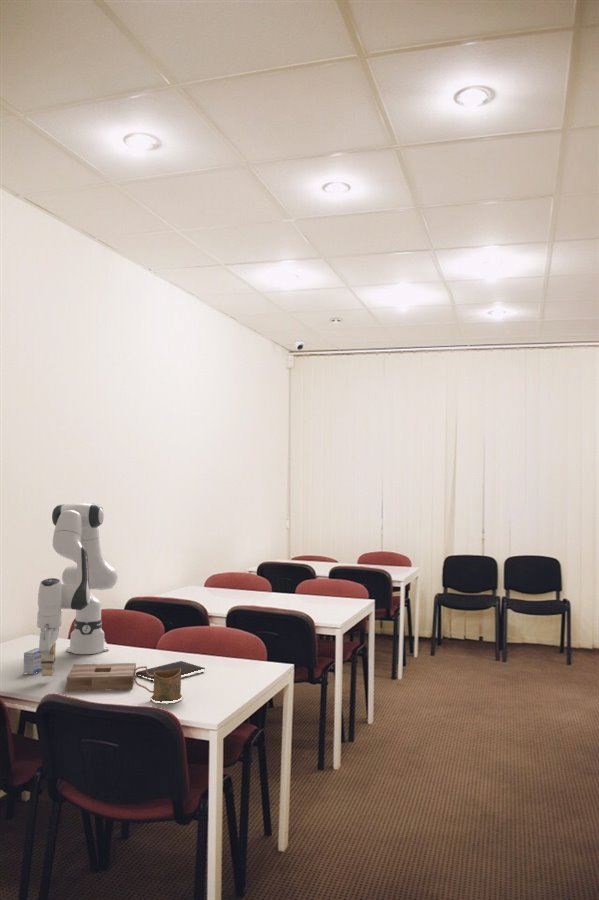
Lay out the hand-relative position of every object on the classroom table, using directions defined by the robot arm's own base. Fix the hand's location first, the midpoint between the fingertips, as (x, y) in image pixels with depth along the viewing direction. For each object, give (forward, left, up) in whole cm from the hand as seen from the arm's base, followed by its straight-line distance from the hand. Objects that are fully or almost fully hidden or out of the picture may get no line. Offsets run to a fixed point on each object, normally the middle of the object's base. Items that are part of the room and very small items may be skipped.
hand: (48, 657), depth 268 cm
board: (+2, +21, -10) cm, 23 cm away
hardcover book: (-7, +47, -10) cm, 49 cm away
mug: (+24, +43, -10) cm, 50 cm away
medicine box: (-16, -8, -10) cm, 20 cm away
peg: (0, 0, -7) cm, 7 cm away
